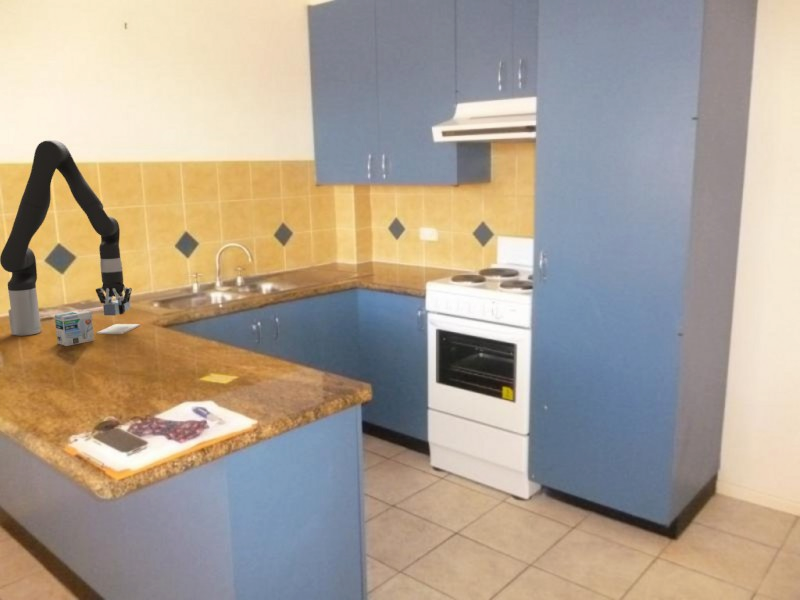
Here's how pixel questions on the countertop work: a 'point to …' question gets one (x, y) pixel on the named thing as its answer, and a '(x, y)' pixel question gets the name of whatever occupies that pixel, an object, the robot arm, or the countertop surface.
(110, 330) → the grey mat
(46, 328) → the countertop surface
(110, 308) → the blue post
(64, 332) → the light bulb box
